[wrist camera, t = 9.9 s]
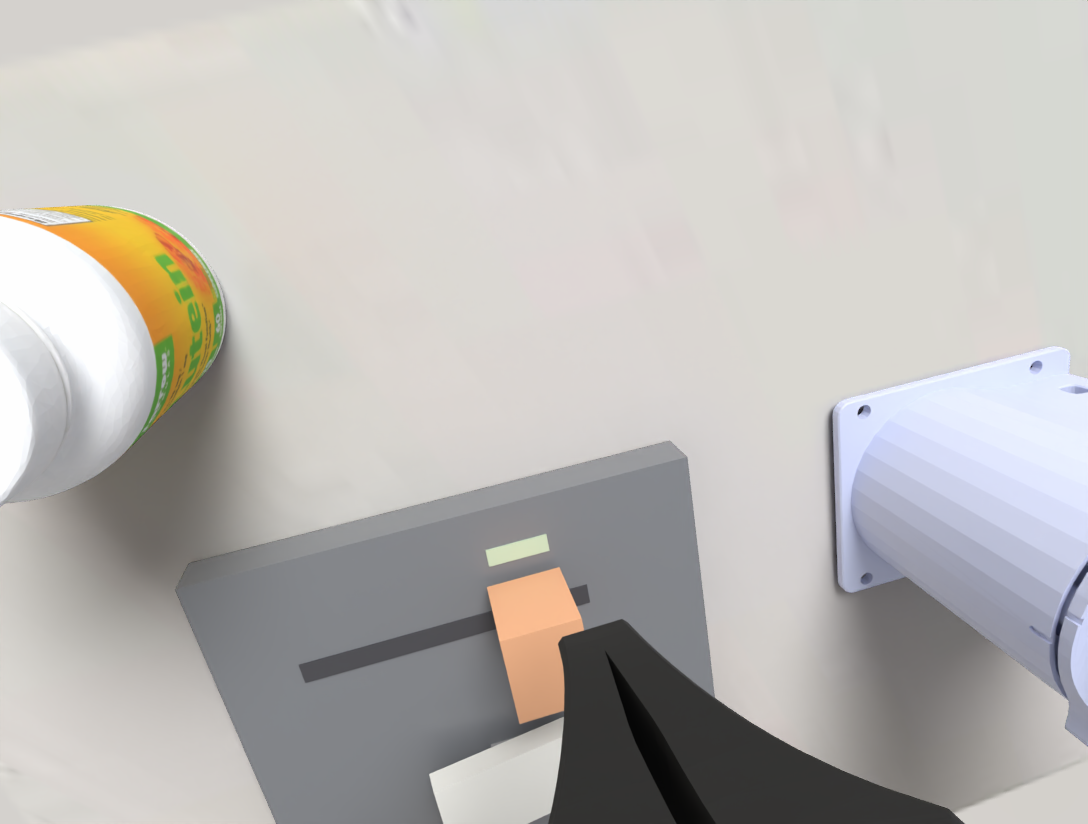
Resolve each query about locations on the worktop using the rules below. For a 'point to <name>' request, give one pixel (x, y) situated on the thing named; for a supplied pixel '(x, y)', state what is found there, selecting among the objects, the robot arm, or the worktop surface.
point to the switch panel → (432, 627)
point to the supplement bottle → (94, 338)
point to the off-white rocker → (502, 780)
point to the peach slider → (534, 638)
